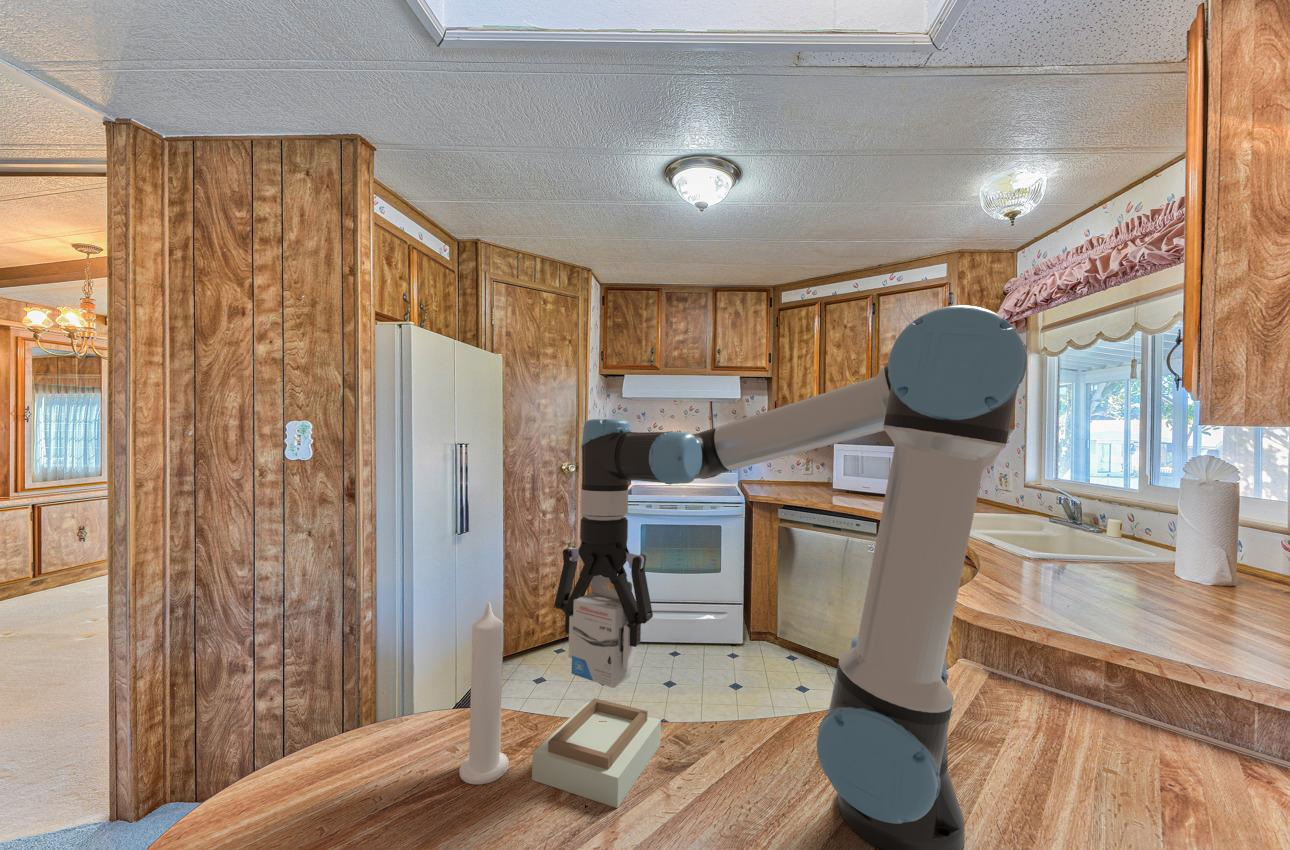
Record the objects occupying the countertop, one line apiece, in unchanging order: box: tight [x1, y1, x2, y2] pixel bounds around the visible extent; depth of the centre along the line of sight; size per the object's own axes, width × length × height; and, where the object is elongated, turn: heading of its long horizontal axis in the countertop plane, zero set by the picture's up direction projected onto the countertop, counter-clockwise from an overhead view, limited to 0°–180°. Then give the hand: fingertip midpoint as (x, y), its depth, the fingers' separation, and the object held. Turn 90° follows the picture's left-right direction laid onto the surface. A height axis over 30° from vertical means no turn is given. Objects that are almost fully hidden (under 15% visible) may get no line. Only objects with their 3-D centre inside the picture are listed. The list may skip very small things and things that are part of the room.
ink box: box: [571, 575, 633, 689], centre depth 80 cm, size 9×5×15 cm, turn 58°
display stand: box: [531, 698, 662, 809], centre depth 79 cm, size 14×16×6 cm
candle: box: [458, 601, 510, 785], centre depth 77 cm, size 7×7×25 cm
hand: (601, 660), depth 79 cm, fingers closed on ink box, 9 cm apart
